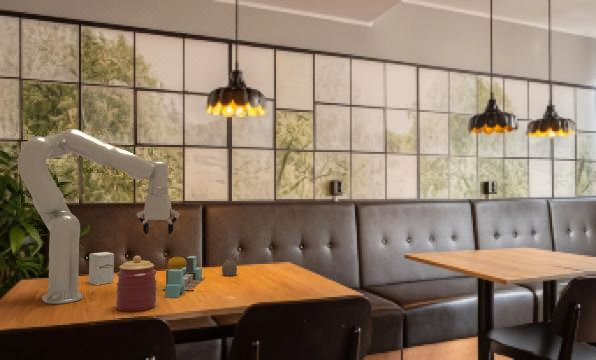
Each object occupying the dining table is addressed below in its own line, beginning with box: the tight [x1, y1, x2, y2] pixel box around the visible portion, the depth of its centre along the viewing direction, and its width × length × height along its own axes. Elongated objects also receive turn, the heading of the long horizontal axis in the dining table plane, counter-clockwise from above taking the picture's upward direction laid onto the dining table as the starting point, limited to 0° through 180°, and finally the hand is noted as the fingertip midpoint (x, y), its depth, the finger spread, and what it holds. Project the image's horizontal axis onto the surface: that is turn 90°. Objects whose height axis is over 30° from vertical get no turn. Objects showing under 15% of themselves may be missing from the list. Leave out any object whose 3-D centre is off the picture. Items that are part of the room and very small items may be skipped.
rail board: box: [162, 273, 207, 293], centre depth 185 cm, size 22×12×4 cm, turn 177°
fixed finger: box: [181, 255, 203, 280], centre depth 193 cm, size 8×6×10 cm
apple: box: [166, 256, 186, 270], centre depth 205 cm, size 9×9×9 cm
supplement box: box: [88, 251, 115, 286], centre depth 188 cm, size 7×7×13 cm
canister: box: [115, 255, 158, 313], centre depth 152 cm, size 13×13×18 cm
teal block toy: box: [164, 269, 186, 299], centre depth 168 cm, size 8×6×10 cm
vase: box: [221, 257, 238, 277], centre depth 202 cm, size 7×7×9 cm
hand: (158, 233), depth 179 cm, fingers open, 9 cm apart
